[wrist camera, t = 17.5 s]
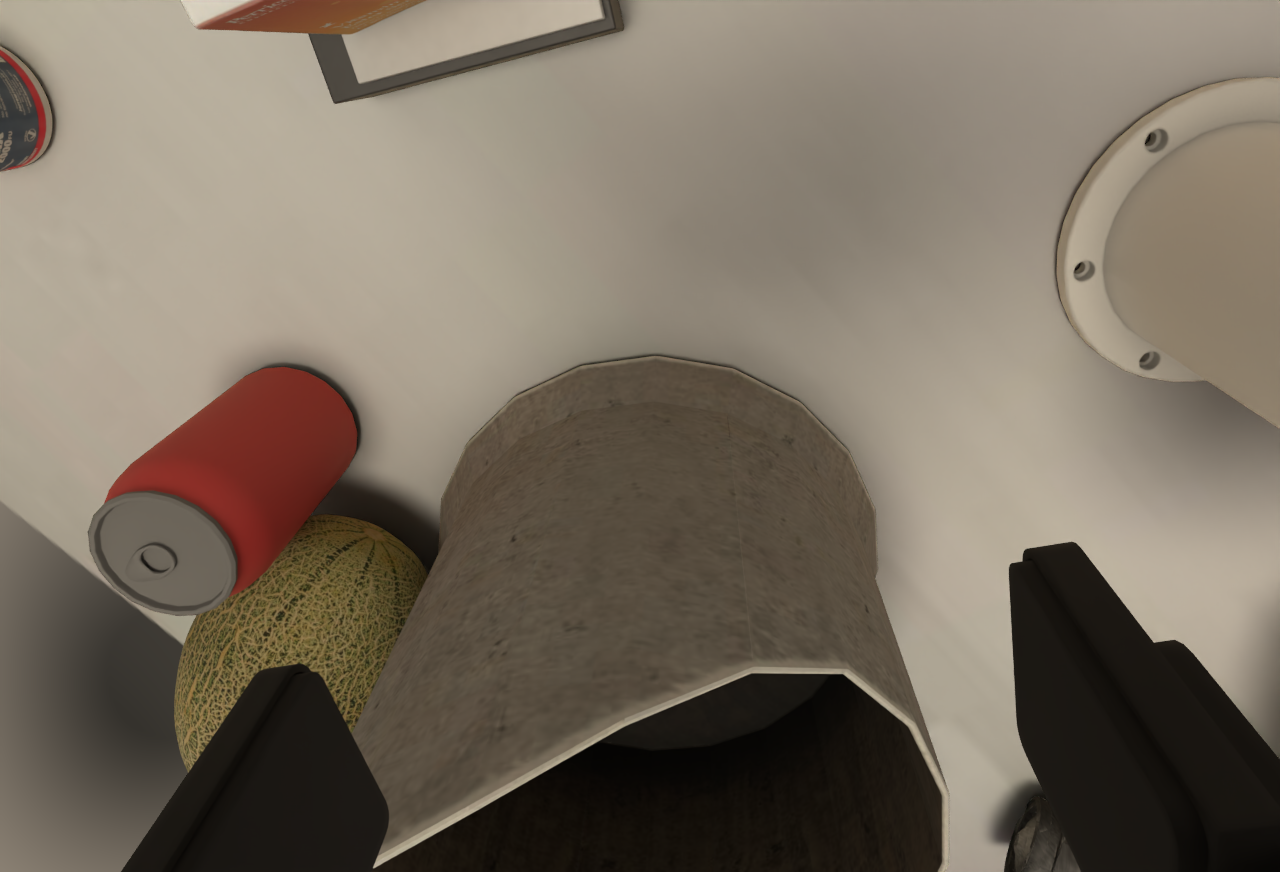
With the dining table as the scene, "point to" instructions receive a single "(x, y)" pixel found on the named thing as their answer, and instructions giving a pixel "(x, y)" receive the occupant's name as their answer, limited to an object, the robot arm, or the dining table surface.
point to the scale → (454, 41)
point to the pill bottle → (21, 114)
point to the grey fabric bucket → (653, 647)
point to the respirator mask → (1039, 842)
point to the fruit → (301, 624)
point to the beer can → (223, 492)
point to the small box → (292, 14)
